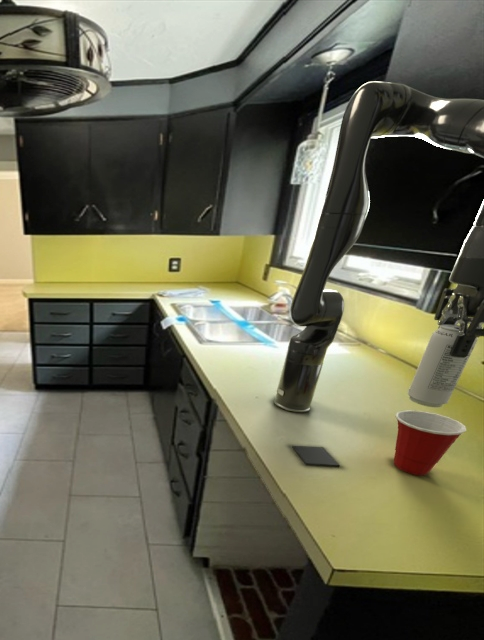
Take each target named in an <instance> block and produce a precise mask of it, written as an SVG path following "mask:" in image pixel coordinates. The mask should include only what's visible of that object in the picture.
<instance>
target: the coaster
mask: <svg viewBox="0 0 484 640" xmlns="http://www.w3.org/2000/svg"><path fill="white" fill-rule="evenodd" d="M292 450H293V451H295V452H296V454H297V455H298V456H299V458H300V459H301V460H302V462H303V463H304V464H305V465H306V466H307V465H308V466H323V467H324V466H325V467H340V464H339V463H338V462H337V461H336V459H335V458H334V457H333V456H332V455H331V454H330V453H329V452H328V451H327V450H326V449H325V448H324V447H323V446H307V445H306V446H303V445H292Z"/></svg>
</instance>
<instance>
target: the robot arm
mask: <svg viewBox="0 0 484 640" xmlns="http://www.w3.org/2000/svg"><path fill="white" fill-rule="evenodd" d="M340 123H341V124H340V128H339V133H338V139H337V145H336V149H335V155H334V160H333V166H332V170H331V174H330V177H329V182H328V185H327V190H326V194H325V197H324V200H323V204H322V207H321V210H320V213H319V216H318V220H317V224H316V228H315V231H314V232H315V233H314V235H313V240H312V243H311V247H310V250H309V253H308V256H307V259H306V262H305V265H304V268H303V271H302V274H301V276H300V279H299V282H298V284H297V287H296V289H295V292H294V294H293V298H292V300H291V303H290V309H289V316H290V319H291V322H292V323H293V324H294V325H295V326H298V327H305V328H304V329H303V330H302V331H300V332H299V333H296V334H294V335H292V336H291V337H290V339H289V341H288V345H287V349H286V352H285V356H284V357H285V358H284V362H283V365H282V369H281V373H280V377H279V382H278V386H277V387H276V388H277V389H276V393H275V397H274V400H273V404H274V405H275V406H276V407H279V408H280V409H282V410H285V411H289V412H293V413H307V412H309V411H311V407H312V402H313V399H314V396H315V392H316V390H317V386H318V382H319V379H320V375H321V372H322V368H323V365H324V362H325V358H326V355H327V352H328V348H329V347H330V346H331V345H332V344H333V342H334V340H335V337H336V336H337V335H336V334H337V332H338V328H339V327H340V323H341V321H342V318H343V316H344V311H345V300H344V297H343V295H342V294H341V292H339V291H337V290H334V289H326V286H327V285H326V284H327V282H328V280H329V277H330V275H331V273H332V271H333V270H334V269H335V267H336V266H337V265H338V263H340V262H341V260H342V259H343V258H344V257H345V256H346V255H347V253H348V252H349V251H350V250H351V248H353V246H354V245H355V244H356V242H357V240H358V239H359V237H360V236H361V233H362V230H363V227H364V224H365V221H366V219H367V216H368V212H369V209H370V203H371V202H370V201H371V200H370V191H369V186H368V185H369V184H368V179H367V175H366V159H367V154H368V149H369V146H370V142H371V139H378V138H385V137H415V138H418V139H422V140H424V141H426V142H428V143H430V144H432V145H433V146H436V147H440V148H443V149H446V150H450V151H451V150H452V151H456V152H460V153H464V154H472V155H475V156H478V157H480V158H483V159H484V99H479V98H478V99H476V98H443V97H436V96H433V95H430V94H427V93H425V92H422V91H420V90H418V89H415V88H413V87H411V86H408V85H406V84H404V83H399V82H387V81H368V82H366V83H364V84H362V85H361V86H360V87H359V88H358V89H357V90H356V91H355V92H354V93H353V95H352V96H351V98H350V99H349V101H348V103H347V105H346V108H345V110H344V113H343V116H342V119H341V122H340ZM448 281H449V282H450V283H452V284H455V285H456V287H455V288H444V289H443V291H442V294H441V297H440V299H439V303H438V306H437V307H436V308H437V309H436V311H435V314H434V318H433V320H434V321H437V326H438V327H437V329H439V328H440V325H442V324H451V325H460V328H459V335H457V338H456V340H455V342H454V344H453V347H452V349H451V351H450V355H451V356H453V357H462V358H464V357H467V355H468V353H469V351H470V349H471V347H472V345H473V343H474V341H475V339H476V338H477V339H478V338H480V337H484V326H483V325H484V200H483V201H482V203H481V205H480V208H479V210H478V213H477V215H476V217H475V221H474V222H473V226H472V227H471V229H470V230H469V233H468V234H467V236H466V238H465V239H464V241H463V244H462V246H461V249H460V252H459V254H458V256H457V259H456V261H455V263H454V265H453V268H452V271H451V273H450V276H449V278H448ZM467 327H468V329H467Z"/></svg>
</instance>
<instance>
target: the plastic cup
mask: <svg viewBox="0 0 484 640" xmlns="http://www.w3.org/2000/svg"><path fill="white" fill-rule="evenodd" d="M395 419H396V421H397V434H396V435H397V436H396V440H395V441H396V442H395V448H394V450H395V452H394V458H393V464H394V466H395V467H396V468H397V469H399V470H401V471H403V472H405V473H408V474H411V475H415V476H426V475H428V473H430V472H431V470H432V469H433V468H434V467H435V465H437V464H438V463H439V461H440V460H441V459H442V458H443V456H444V455H445V454H446V453H447V452H448V450H450V449H449V448H450V447H452V445H453V444H454V443H455V442H456V440H457V439H458V438H459V437H460V436H461V435H462V434H464V433H465V432H467V426H466V425H465V424H463V423H461V421H458V420H456V419H453V418H451V417H449V416H445V415H443V414H439V413H434V412H428V411H423V410H413V409H411V410H410V409H409V410H400V411H398V412H395Z"/></svg>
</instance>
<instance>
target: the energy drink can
mask: <svg viewBox="0 0 484 640" xmlns="http://www.w3.org/2000/svg"><path fill="white" fill-rule="evenodd" d="M439 326H440V328H439V329H438V328H437V329H436V330H434V331H433V332H432V333H431V336H430V338H429V340H428V343H427V345H426V348H425V350H424V353H423V355H422V357H421V359H420V362H419V364H418V366H417V369H416V371H415V374H414V376H413V378H412V381H411V382H410V386H409V388H408V390H407V395H408V396H409V397H408V398H409V400H410V401H411V402H413V403H415V404H417V405H421V406H424V407H429V408H442V406H443V405H447V404H448V403H449V401H450V399H451V397H452V395H453V394H454V393H453V392H454V391H455V388H456V387H457V384H458V382H459V380H460V378H461V376H462V374H463V371H464V369H465V368H466V365H467V363H468V362H469V359H470V357H471V355H472V353H473V351H474V349H475V346H476V344H477V342H478V337H477V338H476V339H475V341H474V343H473V345H472V347H471V349H470V351H469V353H468V355H467V357H464V358H462V357H453V356H451V355H450V351H451V349H452V347H453V344H454V342H455V340H456V338H457V335H459V328H460V324H457V325H451V324H442V325H439ZM468 327H469V326H468ZM468 327H467V329H468Z"/></svg>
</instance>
